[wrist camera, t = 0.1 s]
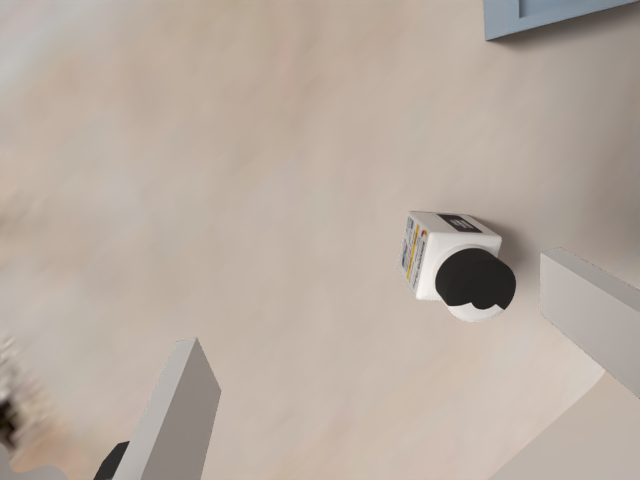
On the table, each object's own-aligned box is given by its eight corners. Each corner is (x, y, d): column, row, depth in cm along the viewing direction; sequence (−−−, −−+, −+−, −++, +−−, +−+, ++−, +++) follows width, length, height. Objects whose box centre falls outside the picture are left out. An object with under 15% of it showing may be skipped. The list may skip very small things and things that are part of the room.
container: (406, 210, 42) (454, 255, 30) (468, 214, 42) (539, 259, 30) (396, 268, 44) (435, 331, 32) (454, 271, 45) (513, 333, 33)
